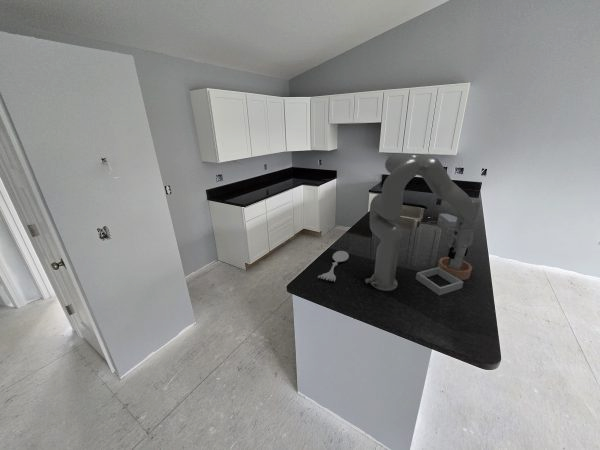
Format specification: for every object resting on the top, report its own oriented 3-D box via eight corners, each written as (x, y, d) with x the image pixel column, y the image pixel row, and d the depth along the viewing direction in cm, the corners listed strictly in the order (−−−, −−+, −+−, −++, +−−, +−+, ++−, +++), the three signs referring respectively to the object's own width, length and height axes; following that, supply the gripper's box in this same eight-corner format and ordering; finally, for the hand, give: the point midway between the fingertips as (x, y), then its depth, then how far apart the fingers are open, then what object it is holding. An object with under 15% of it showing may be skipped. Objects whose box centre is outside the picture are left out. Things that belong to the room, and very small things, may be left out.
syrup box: (448, 263, 133) (454, 238, 128) (461, 266, 130) (468, 241, 124) (446, 267, 129) (452, 242, 123) (459, 271, 125) (466, 245, 120)
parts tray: (439, 295, 113) (440, 289, 112) (415, 278, 125) (416, 272, 124) (461, 288, 118) (463, 281, 116) (436, 272, 130) (438, 266, 128)
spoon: (316, 282, 125) (317, 276, 123) (335, 253, 152) (335, 248, 150) (334, 286, 121) (334, 280, 120) (350, 256, 148) (350, 250, 147)
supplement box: (466, 234, 172) (469, 222, 169) (446, 234, 173) (449, 221, 170) (455, 225, 188) (457, 213, 184) (436, 224, 189) (439, 213, 185)
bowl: (455, 282, 122) (457, 274, 120) (431, 267, 134) (432, 260, 133) (476, 276, 126) (478, 268, 125) (451, 262, 139) (453, 255, 137)
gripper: (458, 229, 114) (450, 263, 121) (485, 224, 120) (476, 256, 126) (444, 223, 121) (437, 256, 127) (470, 218, 126) (462, 250, 133)
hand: (456, 256), depth 127 cm, fingers closed on syrup box, 7 cm apart
